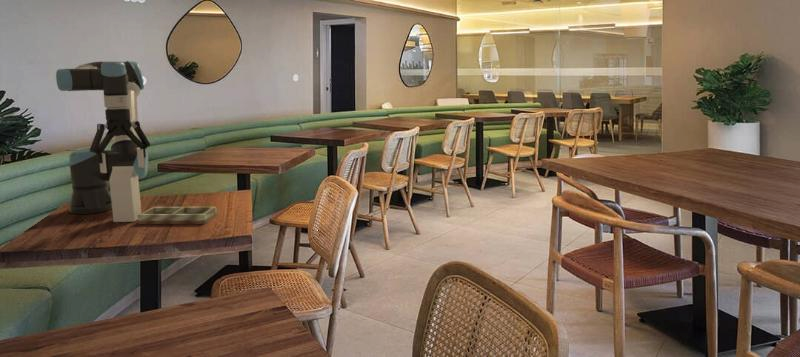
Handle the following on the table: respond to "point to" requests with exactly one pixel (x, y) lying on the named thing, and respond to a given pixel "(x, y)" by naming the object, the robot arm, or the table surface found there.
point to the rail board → (177, 215)
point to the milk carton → (125, 194)
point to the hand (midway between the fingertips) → (123, 170)
